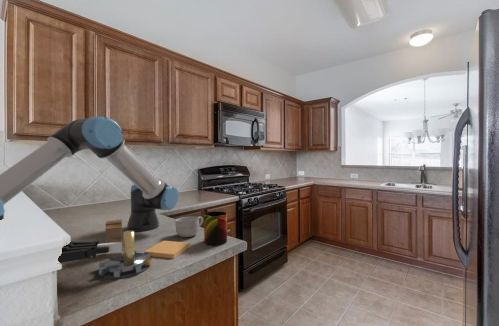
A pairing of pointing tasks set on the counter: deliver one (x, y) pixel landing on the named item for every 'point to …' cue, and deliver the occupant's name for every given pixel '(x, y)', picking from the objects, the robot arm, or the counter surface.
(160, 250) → the light orange square slab
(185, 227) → the teacup
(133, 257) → the sprocket
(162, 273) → the counter surface
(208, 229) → the mug
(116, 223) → the link block
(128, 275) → the sprocket plinth
